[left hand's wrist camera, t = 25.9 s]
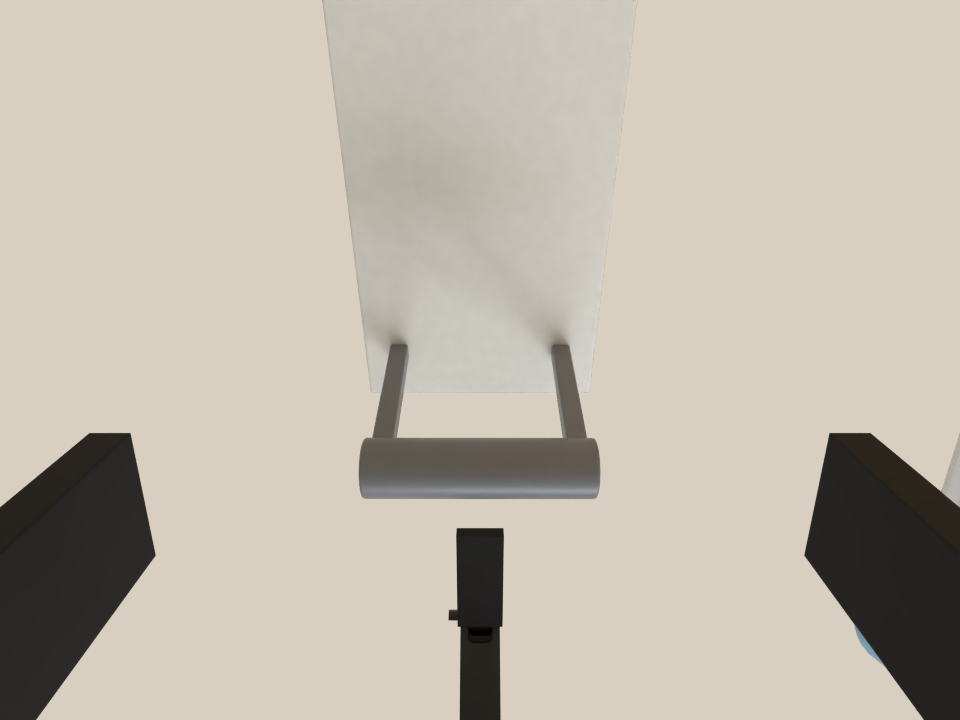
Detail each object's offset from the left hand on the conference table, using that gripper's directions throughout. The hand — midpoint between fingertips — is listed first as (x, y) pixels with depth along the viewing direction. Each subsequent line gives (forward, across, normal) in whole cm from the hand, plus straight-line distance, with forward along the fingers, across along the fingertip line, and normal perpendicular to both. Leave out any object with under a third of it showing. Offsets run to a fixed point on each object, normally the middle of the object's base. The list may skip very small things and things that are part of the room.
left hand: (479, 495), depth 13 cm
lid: (+13, 0, -3) cm, 14 cm away
